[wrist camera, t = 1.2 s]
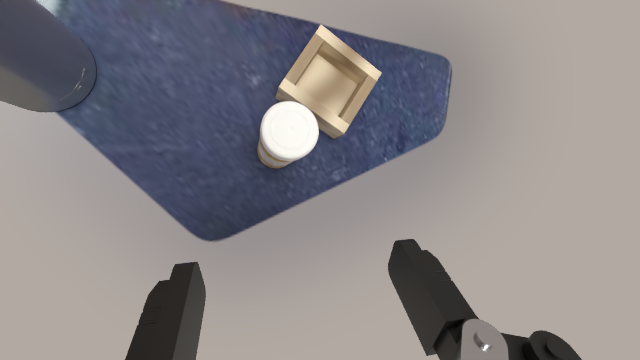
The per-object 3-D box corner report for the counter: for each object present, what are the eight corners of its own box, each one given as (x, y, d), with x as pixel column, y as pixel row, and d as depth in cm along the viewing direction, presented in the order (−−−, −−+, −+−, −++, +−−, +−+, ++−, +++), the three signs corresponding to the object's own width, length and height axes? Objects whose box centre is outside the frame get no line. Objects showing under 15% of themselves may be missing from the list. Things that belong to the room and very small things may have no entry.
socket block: (275, 98, 34) (278, 86, 30) (313, 42, 35) (321, 24, 32) (334, 139, 36) (344, 133, 32) (367, 84, 37) (381, 72, 33)
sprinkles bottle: (300, 147, 35) (331, 124, 22) (279, 176, 34) (298, 171, 21) (270, 124, 34) (284, 87, 21) (248, 154, 33) (248, 134, 20)
